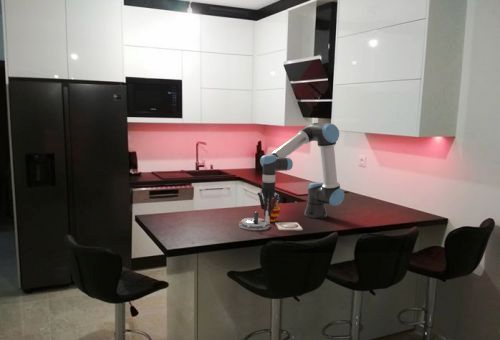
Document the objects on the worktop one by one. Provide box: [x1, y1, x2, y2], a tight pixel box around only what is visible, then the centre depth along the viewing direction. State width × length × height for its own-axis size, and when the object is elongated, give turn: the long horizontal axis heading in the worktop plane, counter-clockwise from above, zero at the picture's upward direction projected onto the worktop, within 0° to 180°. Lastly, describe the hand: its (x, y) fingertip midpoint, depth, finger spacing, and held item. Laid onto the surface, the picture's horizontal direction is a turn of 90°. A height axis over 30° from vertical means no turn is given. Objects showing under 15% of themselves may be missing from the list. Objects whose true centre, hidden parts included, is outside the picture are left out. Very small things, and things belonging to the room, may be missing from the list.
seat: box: [275, 222, 303, 231], centre depth 253 cm, size 14×14×1 cm
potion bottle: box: [267, 197, 281, 223], centre depth 266 cm, size 10×10×15 cm
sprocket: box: [238, 211, 271, 228], centre depth 251 cm, size 19×17×9 cm
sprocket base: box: [238, 223, 271, 232], centre depth 252 cm, size 19×19×1 cm
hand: (267, 221), depth 242 cm, fingers closed
